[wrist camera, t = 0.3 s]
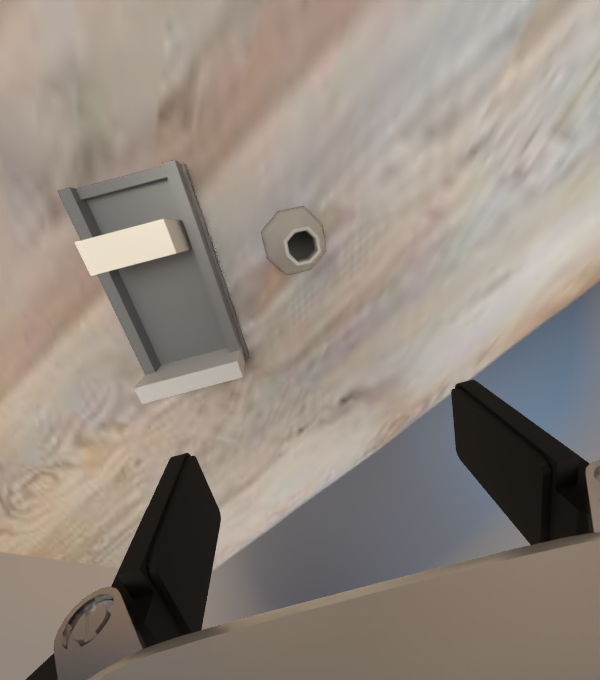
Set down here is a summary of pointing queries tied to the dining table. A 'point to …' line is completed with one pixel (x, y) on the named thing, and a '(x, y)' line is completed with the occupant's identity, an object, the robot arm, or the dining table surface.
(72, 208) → the grey rectangular tray
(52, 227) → the dining table surface
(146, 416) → the dining table surface
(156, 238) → the pusher
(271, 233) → the flask
